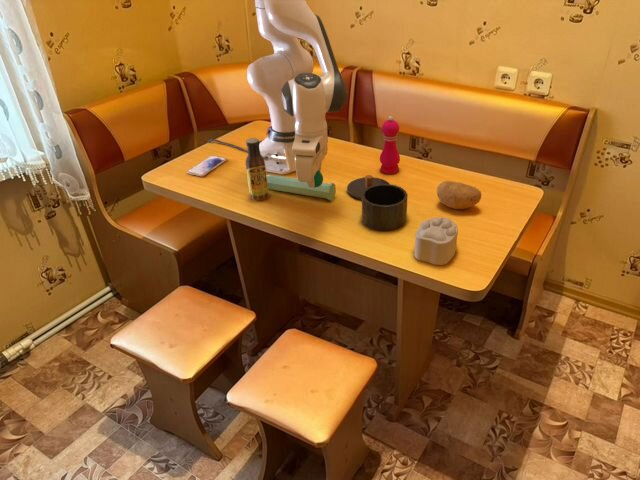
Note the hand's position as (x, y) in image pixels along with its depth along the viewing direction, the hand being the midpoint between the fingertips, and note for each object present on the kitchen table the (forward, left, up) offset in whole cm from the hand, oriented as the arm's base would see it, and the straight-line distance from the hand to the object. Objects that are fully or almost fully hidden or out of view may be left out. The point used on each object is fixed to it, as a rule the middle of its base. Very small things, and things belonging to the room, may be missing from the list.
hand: (314, 181), depth 145 cm
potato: (+42, +15, -14) cm, 47 cm away
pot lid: (+13, +21, -13) cm, 27 cm away
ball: (0, 0, -2) cm, 2 cm away
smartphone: (-50, +29, -13) cm, 59 cm away
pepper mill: (+17, +37, -14) cm, 43 cm away
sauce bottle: (-23, +11, -14) cm, 29 cm away
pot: (+20, +4, -13) cm, 24 cm away
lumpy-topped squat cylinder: (+37, -10, -14) cm, 41 cm away
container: (-11, +15, -14) cm, 23 cm away
